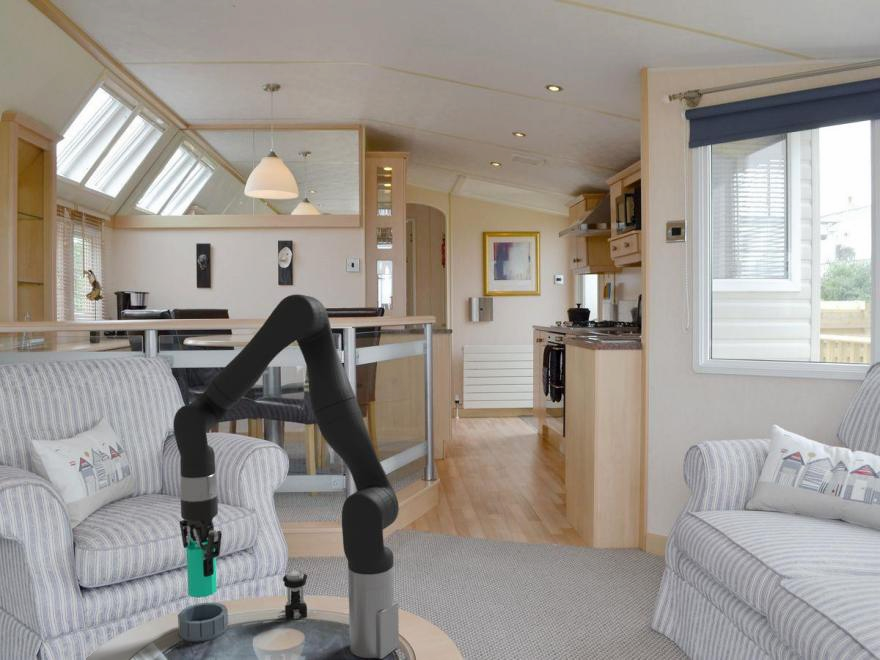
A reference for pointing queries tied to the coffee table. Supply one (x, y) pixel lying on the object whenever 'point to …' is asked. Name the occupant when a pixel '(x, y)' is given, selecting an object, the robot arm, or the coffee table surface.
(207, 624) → the candle dish
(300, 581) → the push button
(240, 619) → the coffee table surface
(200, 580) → the candle
